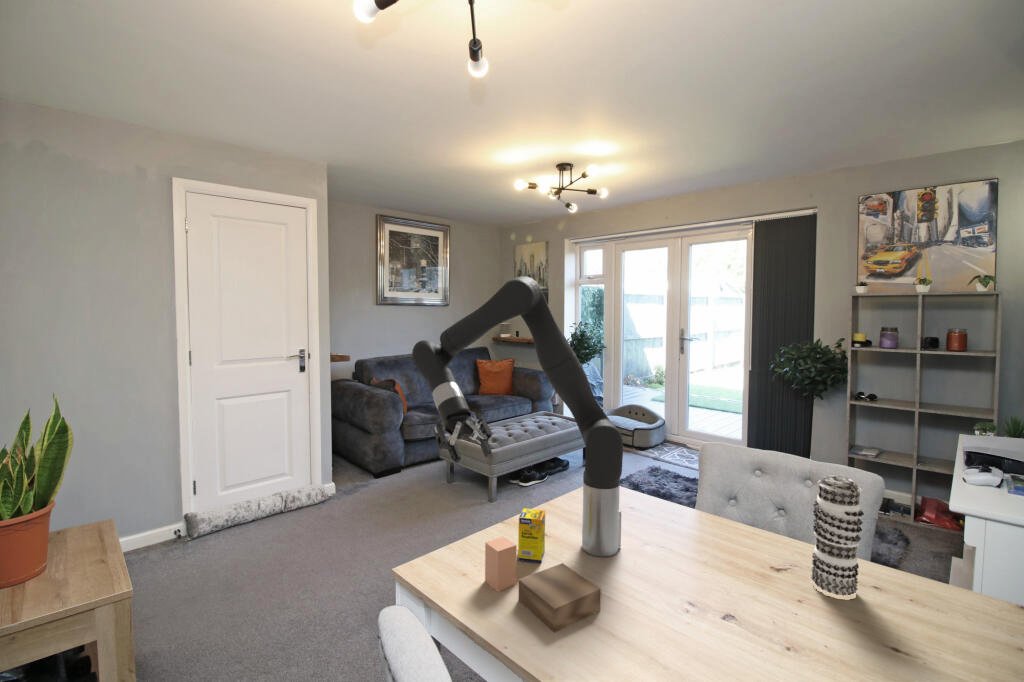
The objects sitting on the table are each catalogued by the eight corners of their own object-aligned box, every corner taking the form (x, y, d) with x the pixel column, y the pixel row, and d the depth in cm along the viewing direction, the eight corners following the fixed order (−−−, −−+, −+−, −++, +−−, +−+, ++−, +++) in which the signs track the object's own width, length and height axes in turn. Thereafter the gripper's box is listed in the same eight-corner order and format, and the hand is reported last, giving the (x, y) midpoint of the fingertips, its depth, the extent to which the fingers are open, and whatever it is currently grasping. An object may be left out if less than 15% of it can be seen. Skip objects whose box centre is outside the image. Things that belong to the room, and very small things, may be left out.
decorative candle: (853, 583, 109) (859, 475, 107) (863, 606, 100) (870, 489, 99) (806, 574, 113) (812, 469, 111) (812, 594, 104) (818, 482, 103)
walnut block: (562, 584, 108) (562, 563, 108) (600, 612, 98) (600, 588, 98) (518, 602, 101) (518, 579, 101) (554, 634, 91) (554, 608, 91)
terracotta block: (503, 574, 111) (503, 536, 111) (516, 584, 107) (516, 545, 107) (485, 581, 108) (485, 542, 108) (497, 591, 104) (497, 551, 104)
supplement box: (541, 563, 116) (542, 519, 115) (517, 561, 117) (518, 517, 117) (545, 551, 122) (545, 509, 121) (522, 549, 123) (522, 507, 122)
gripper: (430, 397, 118) (453, 455, 109) (479, 392, 126) (504, 445, 118) (421, 415, 122) (442, 471, 114) (469, 409, 131) (492, 461, 122)
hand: (473, 458), depth 116 cm, fingers open, 8 cm apart
